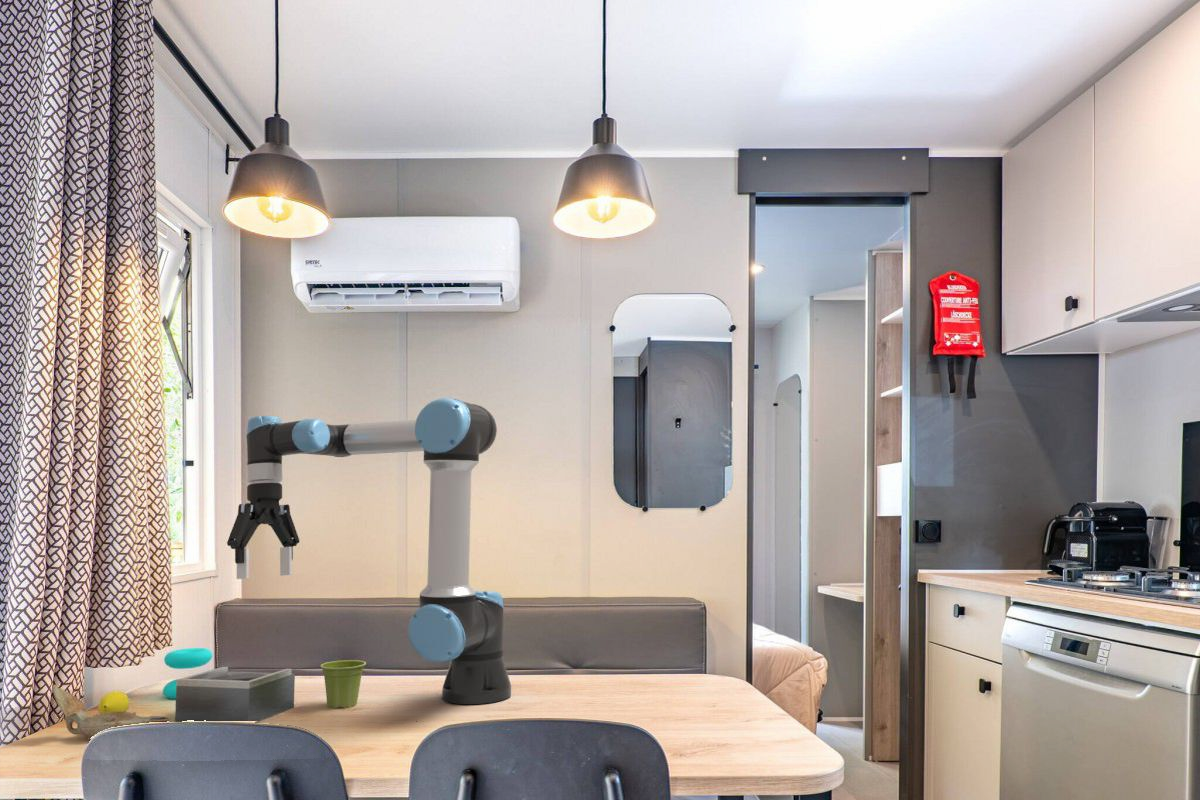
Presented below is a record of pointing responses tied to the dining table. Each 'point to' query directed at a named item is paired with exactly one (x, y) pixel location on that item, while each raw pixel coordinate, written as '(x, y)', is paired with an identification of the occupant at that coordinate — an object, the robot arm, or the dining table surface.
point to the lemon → (113, 702)
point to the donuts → (184, 664)
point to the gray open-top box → (234, 695)
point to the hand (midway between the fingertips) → (265, 577)
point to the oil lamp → (95, 716)
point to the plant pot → (342, 682)
